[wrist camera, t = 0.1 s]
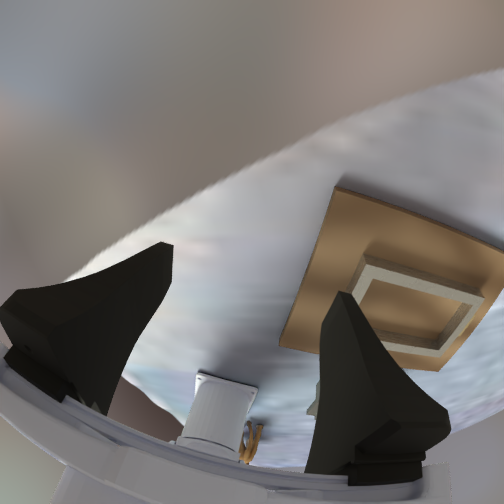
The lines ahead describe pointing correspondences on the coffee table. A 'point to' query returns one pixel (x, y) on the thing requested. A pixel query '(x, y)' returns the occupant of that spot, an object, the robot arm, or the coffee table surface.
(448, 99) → the coffee table surface
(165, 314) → the coffee table surface
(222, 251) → the coffee table surface
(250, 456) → the lion figurine
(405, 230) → the pocket plate
